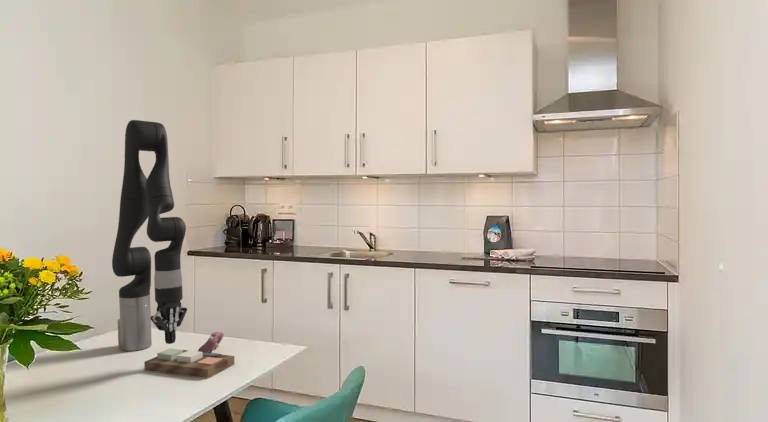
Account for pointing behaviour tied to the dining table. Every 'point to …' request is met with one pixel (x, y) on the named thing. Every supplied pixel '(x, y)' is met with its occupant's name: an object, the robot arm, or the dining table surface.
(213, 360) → the key terracotta
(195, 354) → the key ivory
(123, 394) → the dining table surface
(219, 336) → the video game controller
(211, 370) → the brown wooden flat block
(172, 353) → the key sage
